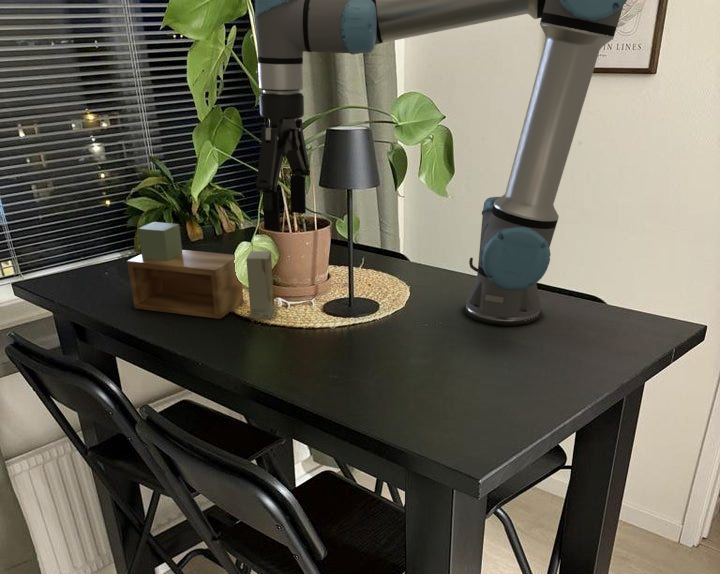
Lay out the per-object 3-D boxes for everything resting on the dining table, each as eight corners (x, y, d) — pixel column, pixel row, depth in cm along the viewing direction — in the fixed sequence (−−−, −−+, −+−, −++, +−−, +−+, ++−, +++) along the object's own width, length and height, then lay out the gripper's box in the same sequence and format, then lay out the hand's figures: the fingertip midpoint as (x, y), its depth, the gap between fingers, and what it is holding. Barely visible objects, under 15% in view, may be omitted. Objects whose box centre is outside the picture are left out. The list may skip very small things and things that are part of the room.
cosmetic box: (271, 319, 153) (267, 259, 147) (250, 319, 153) (245, 259, 147) (275, 308, 159) (271, 250, 152) (254, 308, 159) (250, 249, 152)
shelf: (161, 292, 167) (155, 246, 162) (243, 301, 162) (239, 255, 157) (134, 308, 159) (126, 260, 153) (220, 319, 153) (215, 270, 148)
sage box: (157, 250, 160) (153, 221, 156) (182, 253, 158) (179, 223, 155) (142, 258, 155) (137, 228, 152) (167, 261, 153) (163, 230, 150)
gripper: (286, 84, 139) (290, 204, 150) (230, 97, 118) (239, 235, 130) (325, 86, 137) (326, 207, 148) (275, 100, 117) (280, 239, 128)
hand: (285, 220), depth 139 cm, fingers open, 13 cm apart
